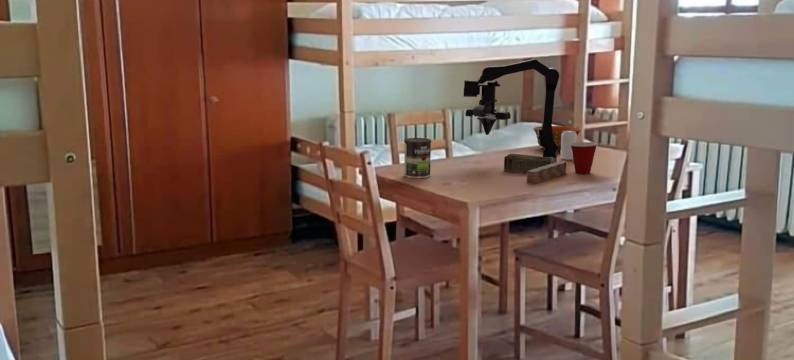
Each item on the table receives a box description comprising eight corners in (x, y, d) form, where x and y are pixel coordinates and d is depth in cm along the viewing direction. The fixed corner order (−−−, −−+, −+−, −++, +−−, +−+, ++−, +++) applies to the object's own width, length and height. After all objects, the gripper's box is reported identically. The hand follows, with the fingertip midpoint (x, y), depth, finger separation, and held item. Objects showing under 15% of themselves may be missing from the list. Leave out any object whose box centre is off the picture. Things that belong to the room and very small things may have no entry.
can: (577, 158, 352) (579, 130, 350) (572, 160, 347) (573, 132, 344) (563, 156, 356) (564, 129, 353) (558, 159, 350) (559, 131, 348)
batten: (559, 172, 323) (559, 161, 322) (565, 173, 321) (566, 162, 320) (526, 183, 303) (527, 171, 302) (533, 184, 301) (534, 172, 300)
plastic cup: (578, 169, 330) (579, 139, 327) (601, 172, 322) (603, 142, 320) (562, 172, 322) (564, 142, 320) (586, 176, 315) (587, 145, 312)
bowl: (537, 144, 388) (538, 123, 386) (583, 147, 380) (584, 126, 378) (528, 151, 369) (529, 129, 366) (575, 154, 361) (576, 132, 359)
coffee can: (435, 177, 313) (436, 140, 310) (411, 179, 308) (412, 142, 305) (422, 172, 322) (422, 136, 319) (399, 174, 317) (399, 138, 314)
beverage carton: (550, 176, 316) (550, 159, 315) (502, 171, 324) (503, 155, 323) (555, 172, 324) (555, 156, 322) (508, 168, 331) (509, 152, 330)
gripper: (458, 97, 334) (457, 134, 337) (497, 100, 323) (496, 139, 326) (473, 95, 343) (472, 131, 346) (511, 98, 332) (510, 136, 335)
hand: (487, 134), depth 338 cm, fingers closed
